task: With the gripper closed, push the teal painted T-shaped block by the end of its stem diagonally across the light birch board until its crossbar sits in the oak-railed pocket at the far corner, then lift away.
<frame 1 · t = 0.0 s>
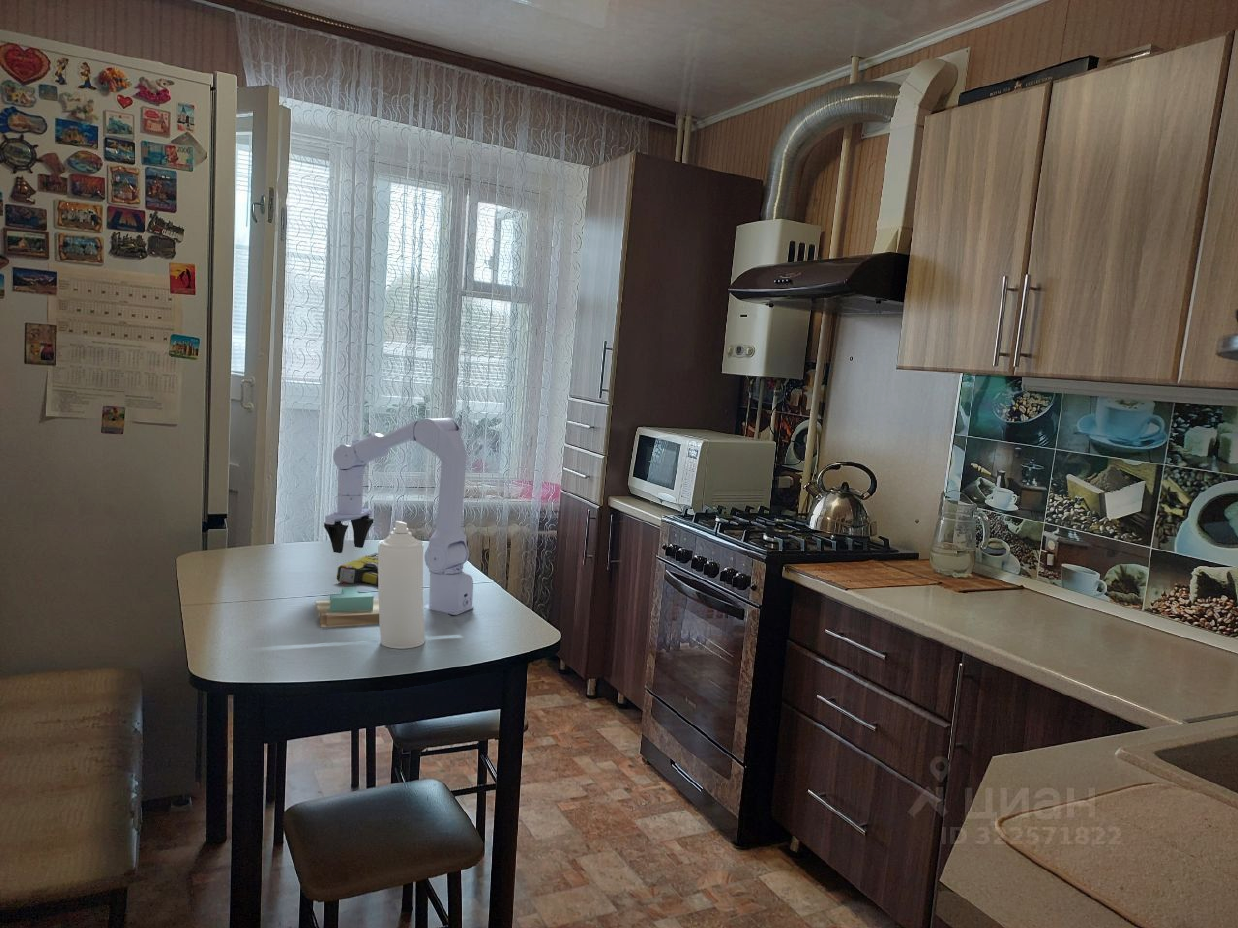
hand: (348, 549, 198), 10 cm above the table, tool pointing down, fingers open, 7 cm apart
t block: (351, 608, 182), point 1 cm above the table, touching board
board: (352, 614, 180), on the table
spray can: (400, 645, 162), on the table
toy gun: (381, 579, 214), on the table
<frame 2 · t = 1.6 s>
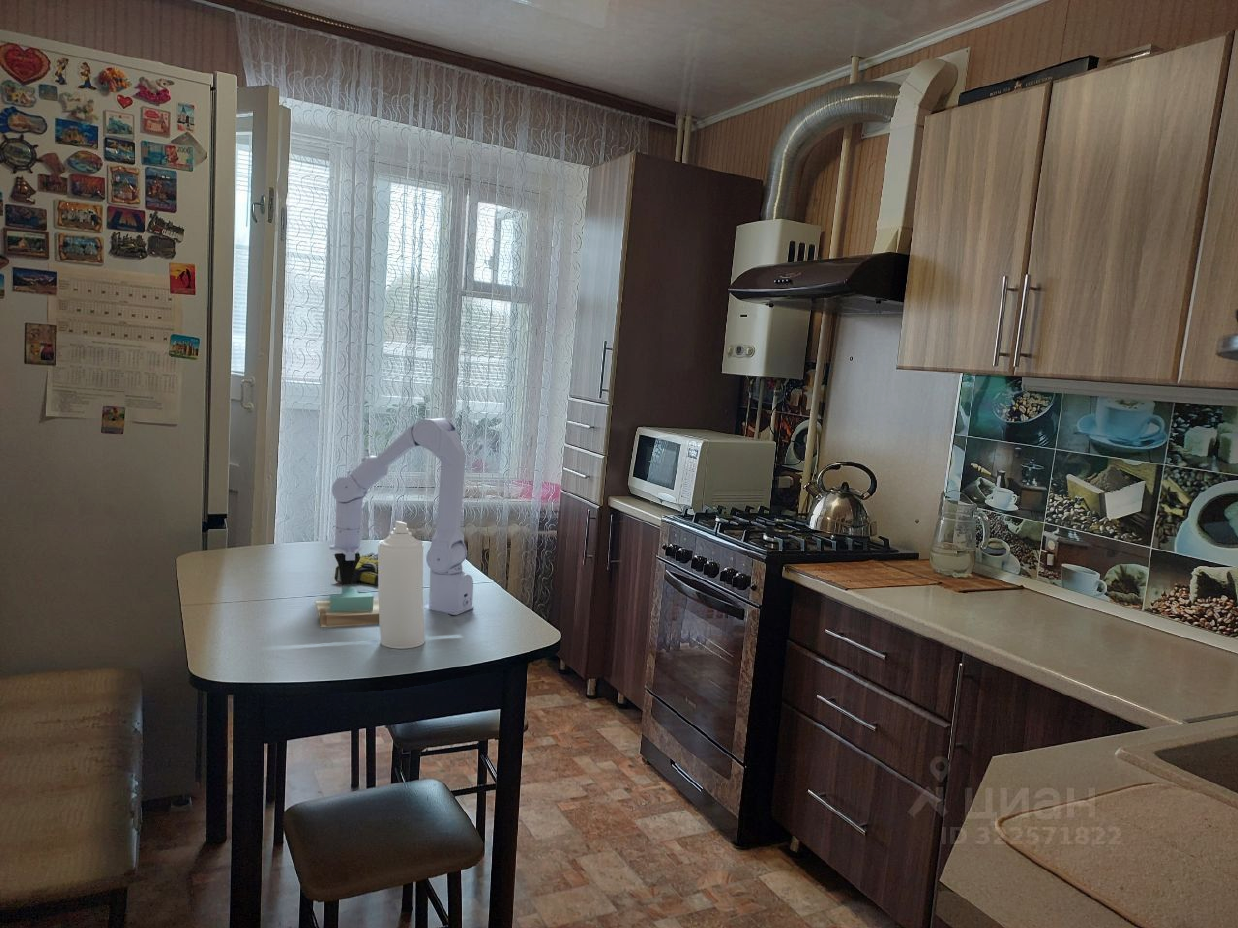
hand: (346, 583, 193), 3 cm above the table, tool pointing down, fingers closed
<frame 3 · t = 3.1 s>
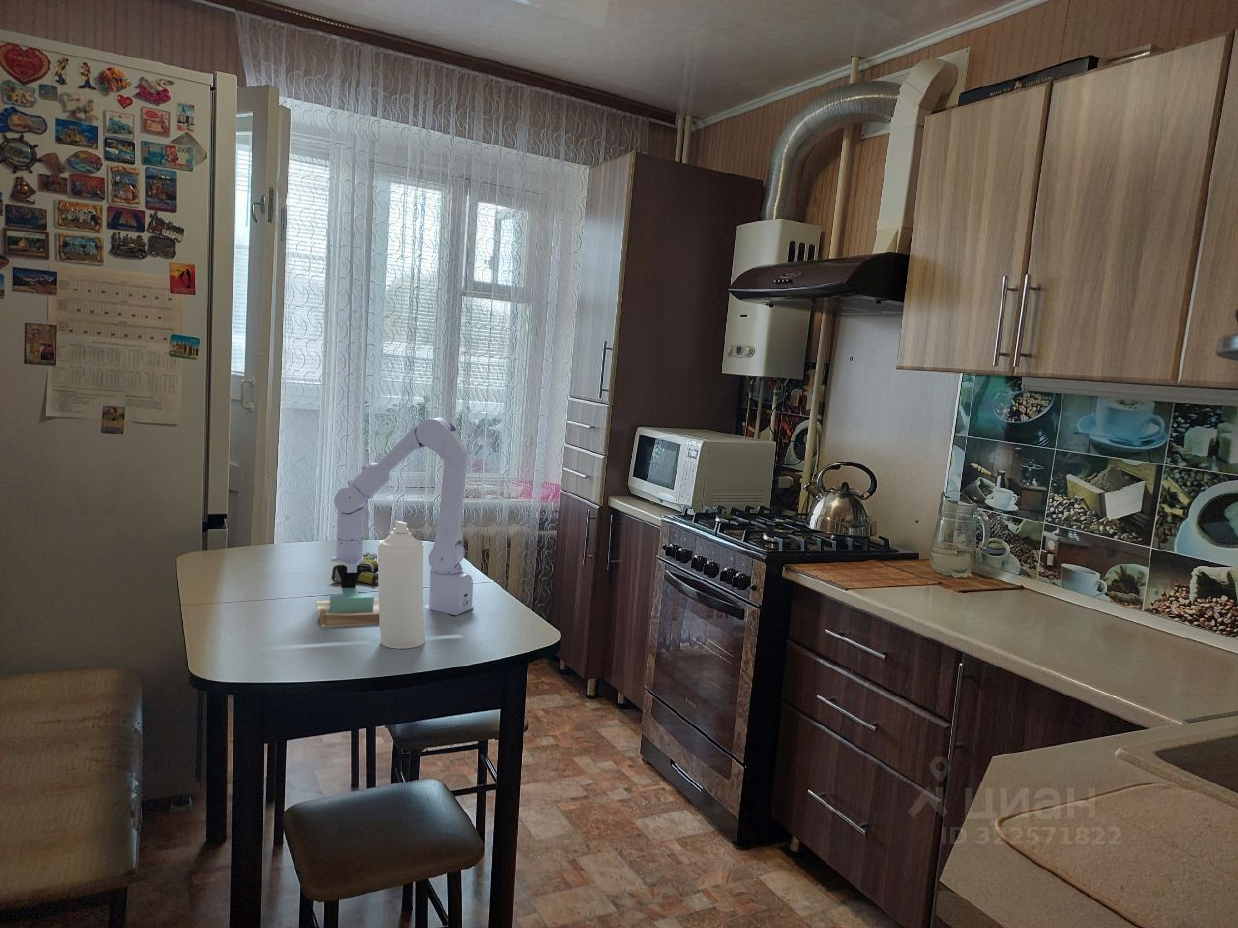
hand: (348, 596, 189), 1 cm above the table, tool pointing down, fingers closed
t block: (351, 609, 181), point 1 cm above the table, touching gripper
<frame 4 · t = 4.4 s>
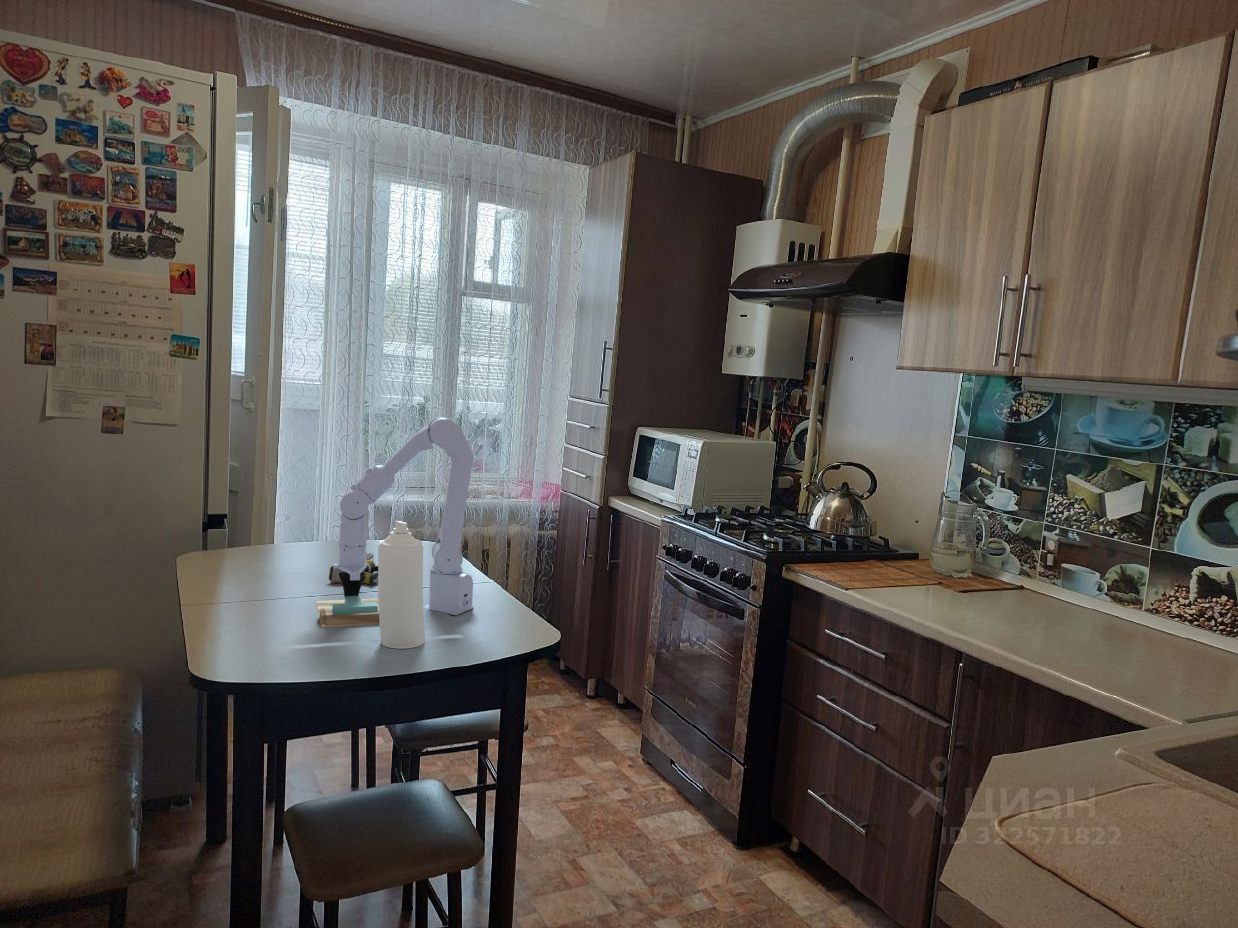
hand: (351, 604, 183), 1 cm above the table, tool pointing down, fingers closed
t block: (354, 618, 175), point 1 cm above the table, touching board, gripper
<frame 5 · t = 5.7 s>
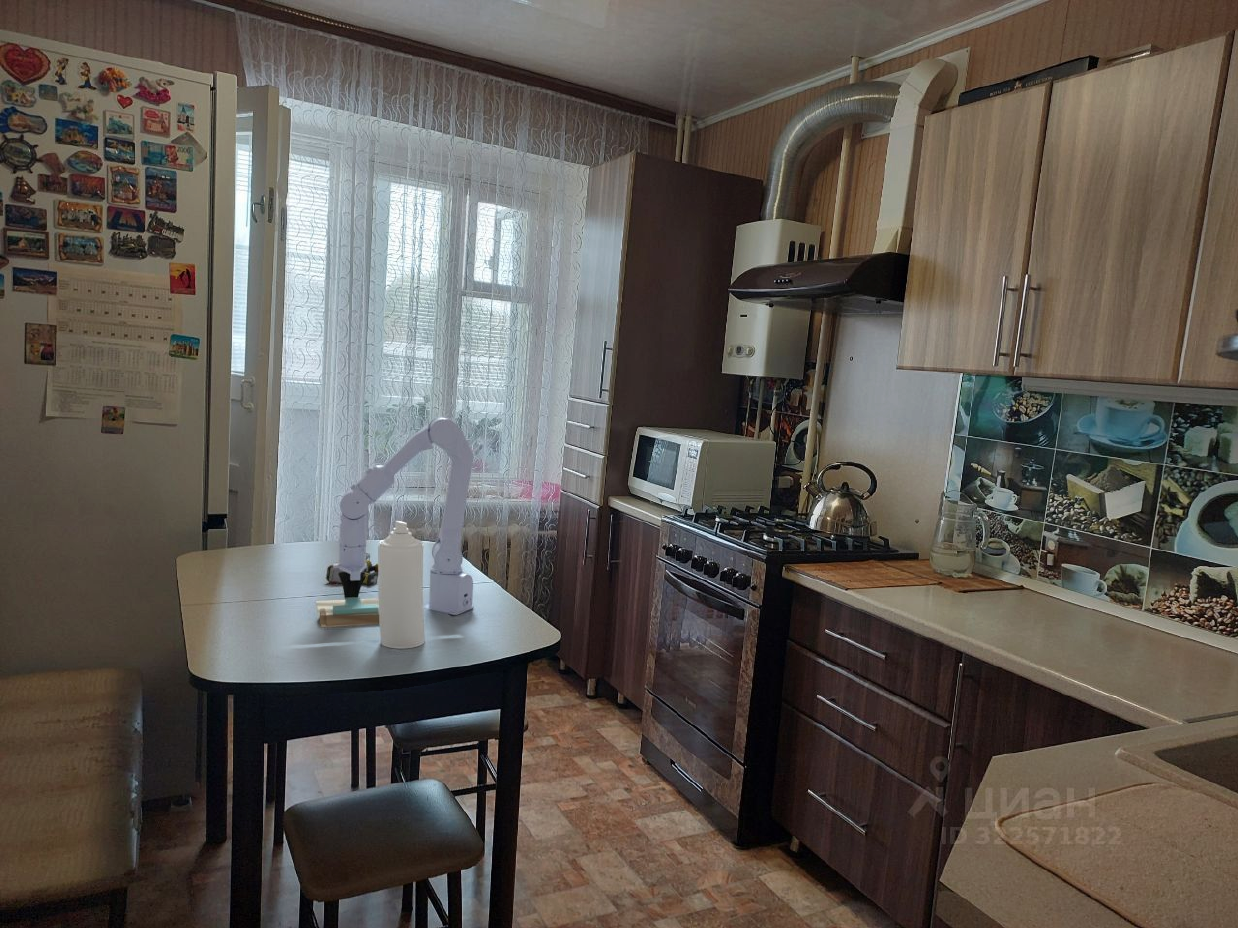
hand: (350, 604, 183), 1 cm above the table, tool pointing down, fingers closed
t block: (355, 620, 173), point 1 cm above the table, touching board
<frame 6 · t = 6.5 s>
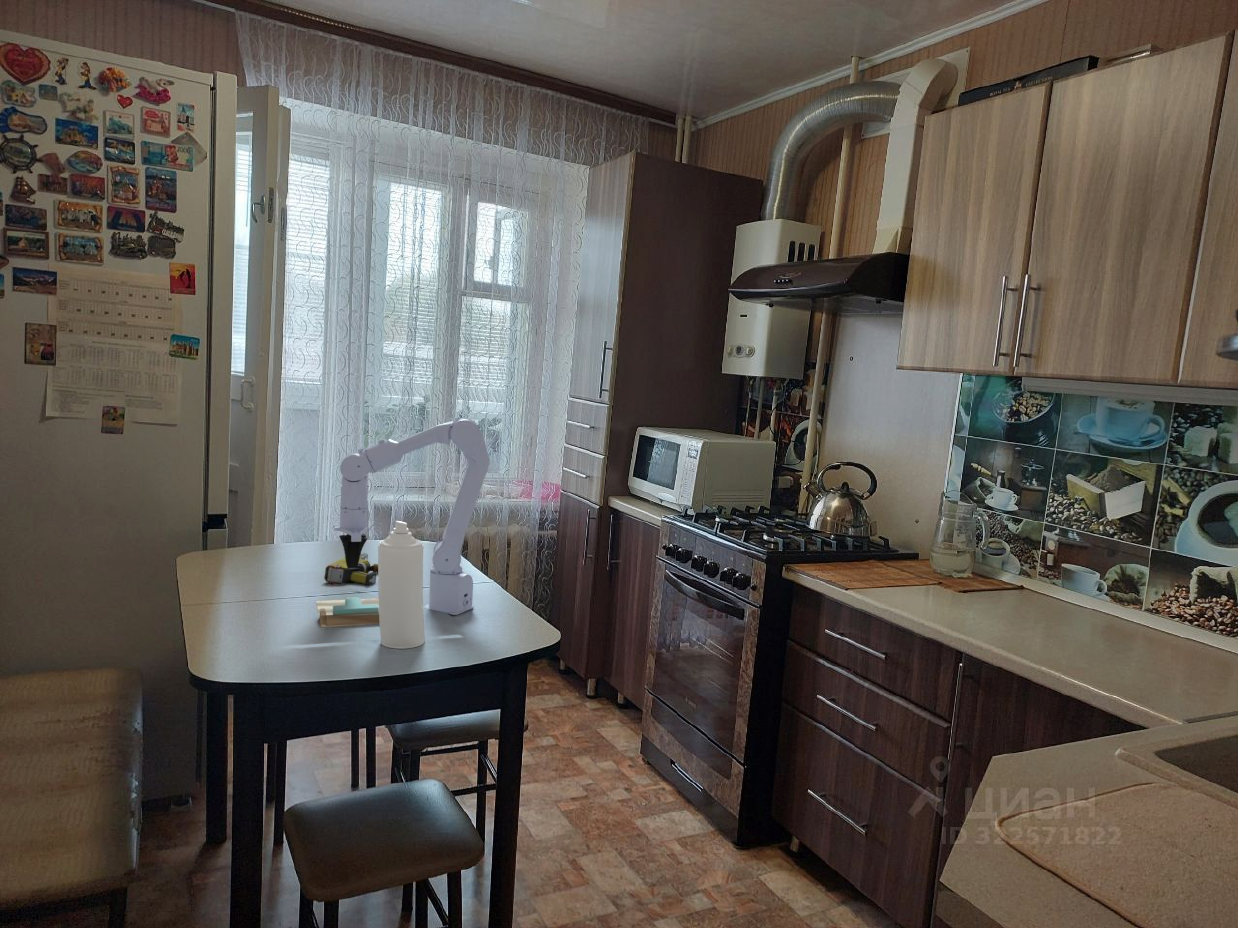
hand: (352, 567, 183), 9 cm above the table, tool pointing down, fingers closed
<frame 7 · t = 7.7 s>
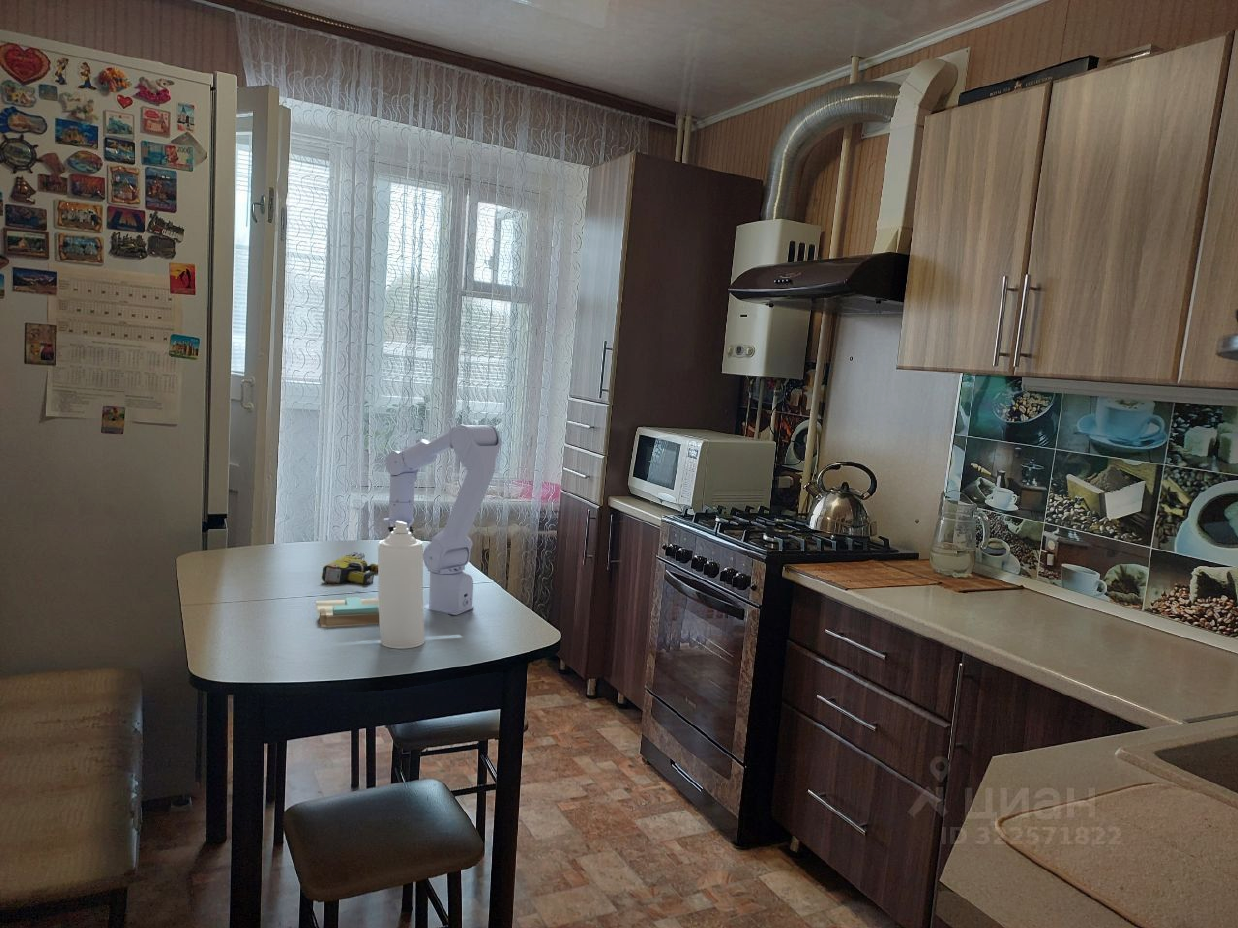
hand: (399, 556, 197), 9 cm above the table, tool pointing down, fingers closed
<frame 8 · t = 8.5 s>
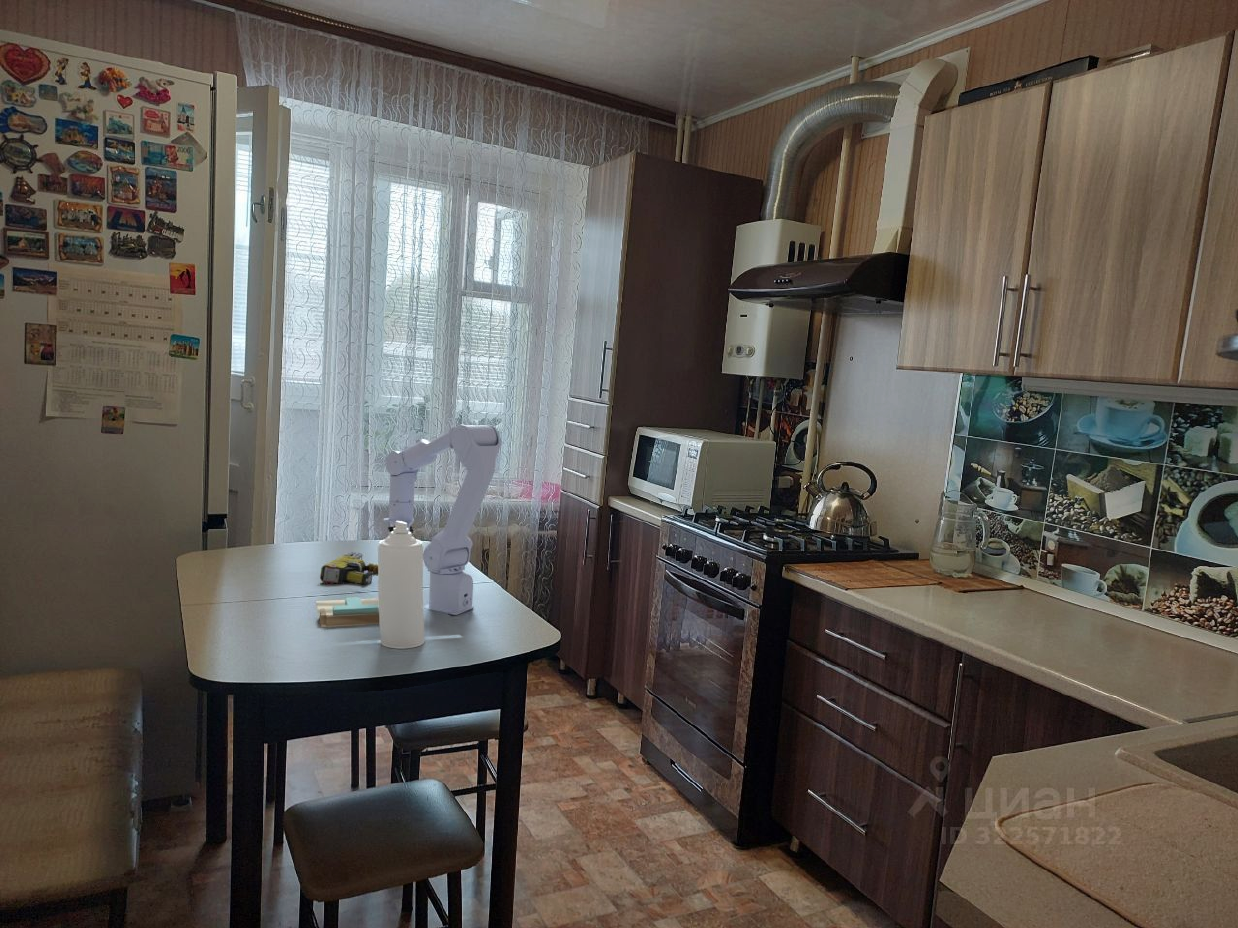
hand: (399, 556, 197), 9 cm above the table, tool pointing down, fingers closed
at the end: t block 0.2 cm from the target spot, point 0.6 cm above the table; t block tilted 0° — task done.
